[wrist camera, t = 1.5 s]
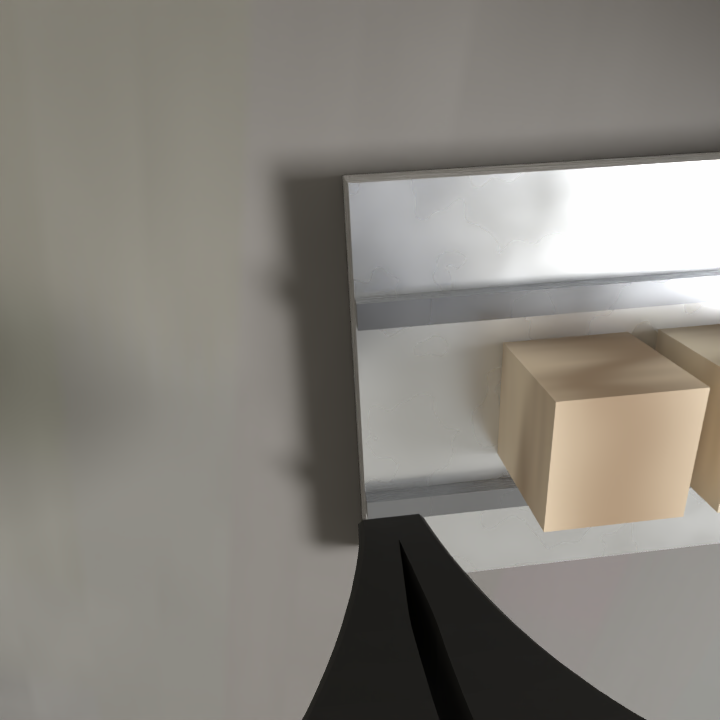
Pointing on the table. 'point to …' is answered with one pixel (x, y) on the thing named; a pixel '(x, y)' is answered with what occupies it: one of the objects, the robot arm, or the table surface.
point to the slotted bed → (512, 327)
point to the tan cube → (598, 429)
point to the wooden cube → (715, 369)
